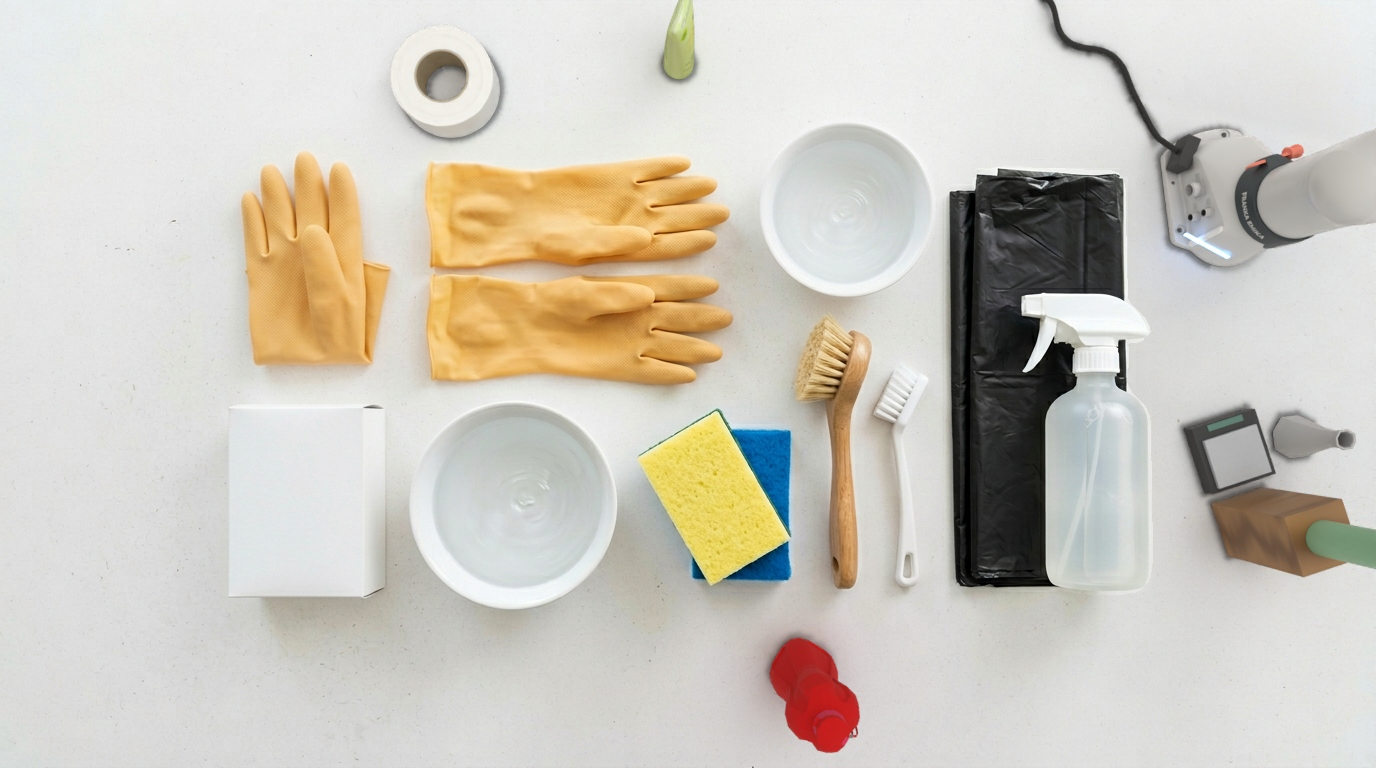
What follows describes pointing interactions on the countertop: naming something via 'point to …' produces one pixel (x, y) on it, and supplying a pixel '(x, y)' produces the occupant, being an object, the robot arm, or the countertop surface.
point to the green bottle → (1343, 542)
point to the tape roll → (427, 56)
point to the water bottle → (814, 696)
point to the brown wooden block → (1277, 528)
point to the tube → (680, 41)
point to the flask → (1308, 437)
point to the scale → (1229, 451)
